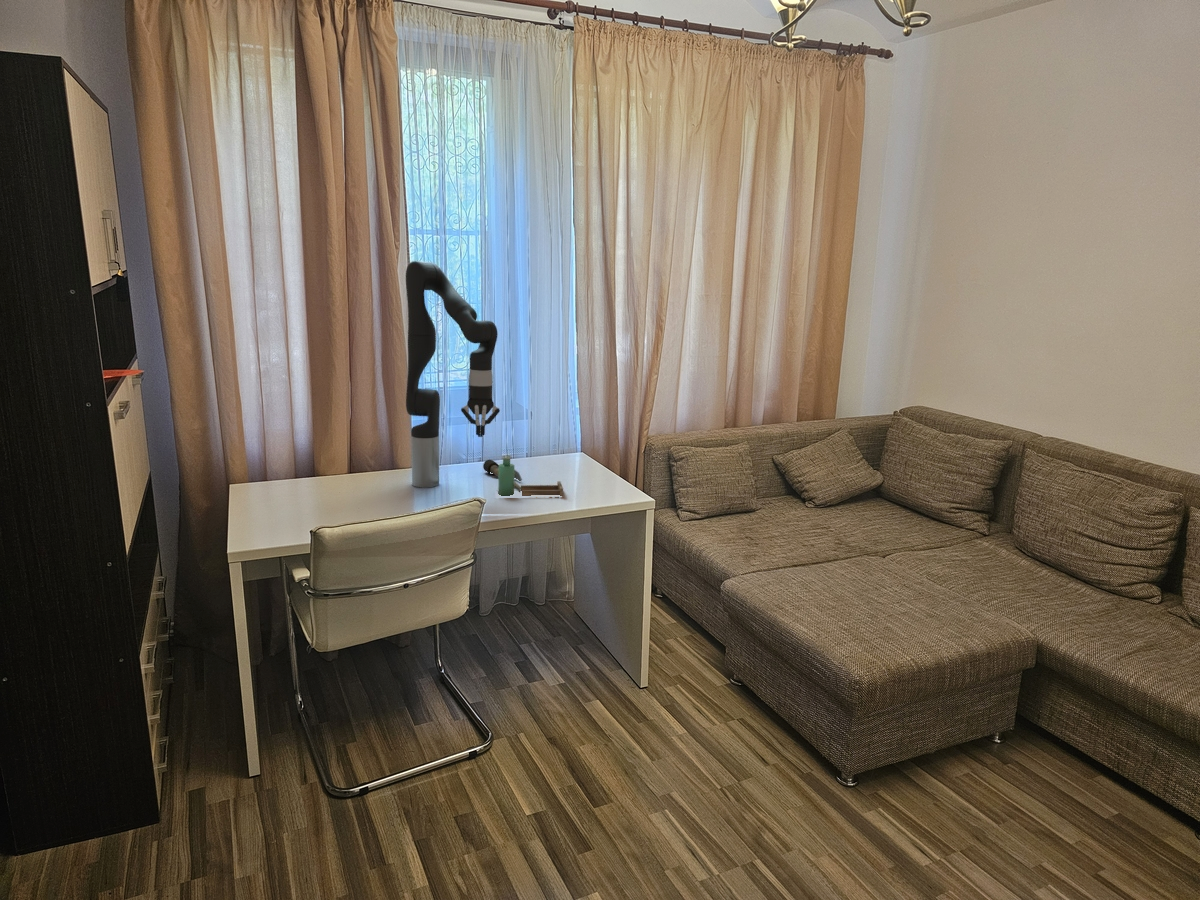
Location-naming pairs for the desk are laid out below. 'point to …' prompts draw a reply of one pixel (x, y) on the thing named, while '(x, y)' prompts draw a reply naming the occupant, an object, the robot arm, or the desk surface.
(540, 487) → the cradle
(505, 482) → the bottle
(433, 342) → the robot arm
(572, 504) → the desk surface
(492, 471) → the wall sconce
